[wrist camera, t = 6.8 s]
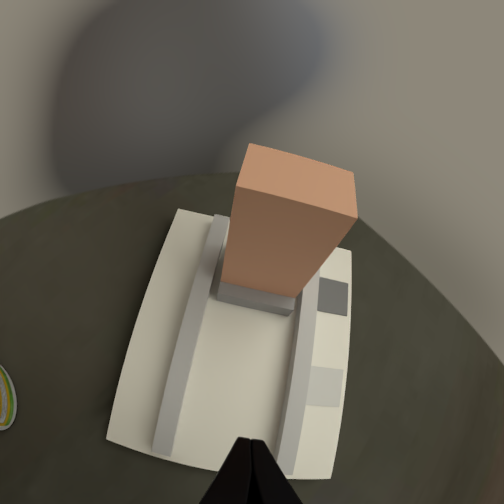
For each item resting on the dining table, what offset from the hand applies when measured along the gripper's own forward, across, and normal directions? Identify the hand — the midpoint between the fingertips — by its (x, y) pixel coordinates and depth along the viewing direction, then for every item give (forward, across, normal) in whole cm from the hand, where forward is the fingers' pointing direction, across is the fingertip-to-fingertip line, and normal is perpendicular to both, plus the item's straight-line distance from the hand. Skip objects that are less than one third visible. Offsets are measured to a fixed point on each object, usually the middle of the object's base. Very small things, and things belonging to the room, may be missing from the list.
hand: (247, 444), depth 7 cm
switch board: (+9, 0, +2) cm, 9 cm away
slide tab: (+11, 0, -2) cm, 11 cm away
